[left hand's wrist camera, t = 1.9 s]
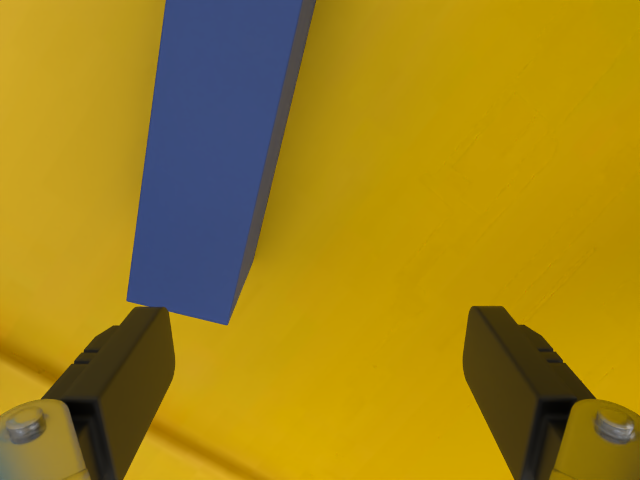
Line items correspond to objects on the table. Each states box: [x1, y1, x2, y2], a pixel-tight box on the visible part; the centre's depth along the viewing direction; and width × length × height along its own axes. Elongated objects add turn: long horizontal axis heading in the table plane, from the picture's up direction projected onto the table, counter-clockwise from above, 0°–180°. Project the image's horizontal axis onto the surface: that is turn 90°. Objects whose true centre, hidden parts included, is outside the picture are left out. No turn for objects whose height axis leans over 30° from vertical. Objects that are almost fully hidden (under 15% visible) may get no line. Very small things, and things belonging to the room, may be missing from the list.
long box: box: [127, 0, 316, 325], centre depth 27 cm, size 24×6×10 cm, turn 165°
